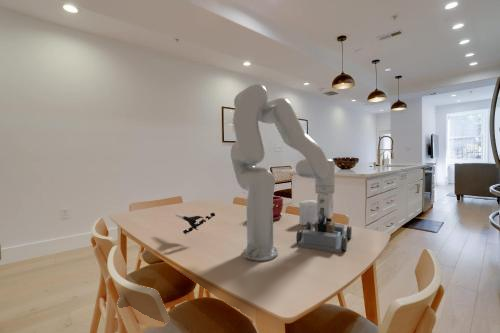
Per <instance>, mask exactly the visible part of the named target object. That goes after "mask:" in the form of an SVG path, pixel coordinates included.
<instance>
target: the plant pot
mask: <svg viewBox="0 0 500 333" xmlns="http://www.w3.org/2000/svg"><path fill="white" fill-rule="evenodd" d="M283 206H284V198H283V197H282V196H275V195H273V221H278V220H281V218H282V217H283V216H282V214H281V213H282V212H283Z"/></svg>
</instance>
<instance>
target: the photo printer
mask: <svg viewBox="0 0 500 333" xmlns="http://www.w3.org/2000/svg"><path fill="white" fill-rule="evenodd" d="M318 219H319V218H318V217H317V200H314V199H309V200H308V199H305V200H302V201H300V202H299V219H298V220H299V225H300V226H306V225H307V222H308V221H309V222H312V226H314V224H315V222H316V221H317V220H318Z"/></svg>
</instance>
